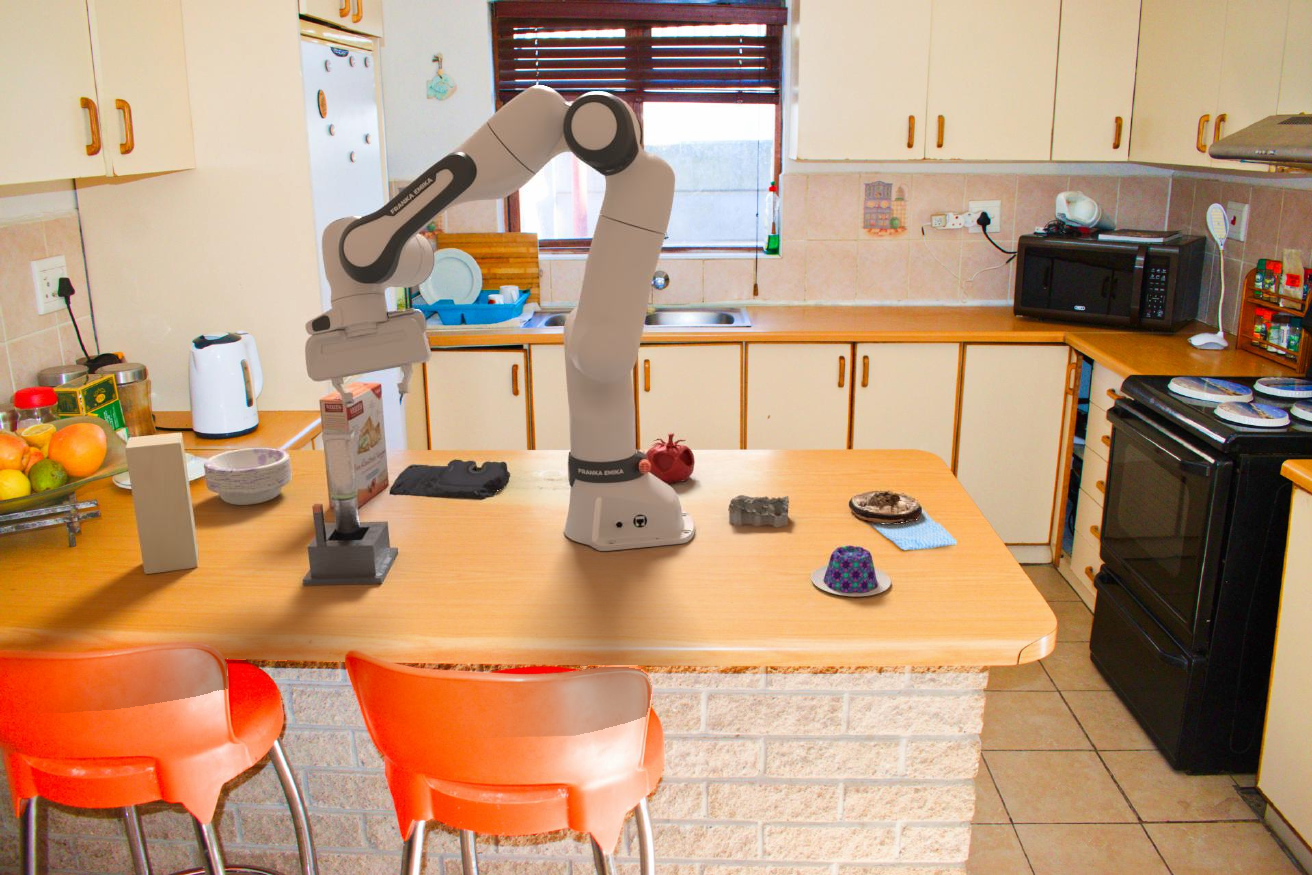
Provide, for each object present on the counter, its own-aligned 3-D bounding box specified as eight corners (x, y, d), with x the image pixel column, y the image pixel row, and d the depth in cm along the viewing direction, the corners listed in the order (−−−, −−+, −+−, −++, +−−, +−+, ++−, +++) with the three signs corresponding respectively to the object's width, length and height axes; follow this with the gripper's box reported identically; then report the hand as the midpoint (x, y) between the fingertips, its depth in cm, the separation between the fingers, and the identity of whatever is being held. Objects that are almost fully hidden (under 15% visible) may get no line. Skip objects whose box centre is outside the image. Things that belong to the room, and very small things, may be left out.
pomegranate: (638, 474, 210) (636, 430, 207) (685, 468, 213) (684, 424, 210) (653, 489, 201) (651, 442, 198) (702, 482, 204) (701, 436, 201)
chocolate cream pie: (863, 533, 179) (864, 511, 178) (830, 504, 193) (831, 483, 192) (942, 525, 182) (944, 502, 181) (904, 497, 196) (905, 476, 195)
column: (365, 524, 167) (355, 429, 162) (359, 533, 163) (349, 436, 158) (337, 524, 167) (327, 429, 162) (330, 534, 163) (319, 436, 158)
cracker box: (358, 510, 192) (347, 400, 186) (328, 508, 193) (316, 399, 187) (391, 485, 205) (382, 381, 199) (363, 483, 206) (353, 380, 200)
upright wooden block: (200, 550, 175) (182, 430, 169) (199, 567, 168) (180, 442, 162) (148, 558, 172) (127, 436, 166) (144, 575, 165) (123, 448, 159)
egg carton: (725, 526, 183) (725, 504, 181) (731, 511, 190) (731, 490, 188) (787, 530, 181) (787, 507, 179) (790, 514, 188) (791, 493, 186)
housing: (398, 553, 173) (391, 481, 169) (381, 583, 161) (374, 507, 157) (325, 554, 172) (317, 483, 169) (303, 585, 161) (294, 509, 157)
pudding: (794, 578, 162) (795, 547, 160) (854, 561, 167) (856, 531, 166) (845, 607, 152) (847, 574, 150) (907, 588, 158) (909, 556, 156)
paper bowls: (305, 483, 207) (300, 445, 204) (276, 511, 192) (271, 470, 190) (229, 484, 207) (223, 445, 205) (194, 511, 193) (188, 470, 190)
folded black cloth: (413, 472, 214) (411, 450, 213) (517, 476, 211) (516, 453, 209) (383, 497, 200) (380, 474, 199) (493, 502, 196) (492, 478, 195)
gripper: (427, 307, 177) (442, 388, 177) (308, 329, 177) (323, 410, 177) (418, 303, 171) (434, 386, 171) (295, 326, 171) (310, 409, 171)
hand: (376, 398), depth 174 cm, fingers open, 8 cm apart
